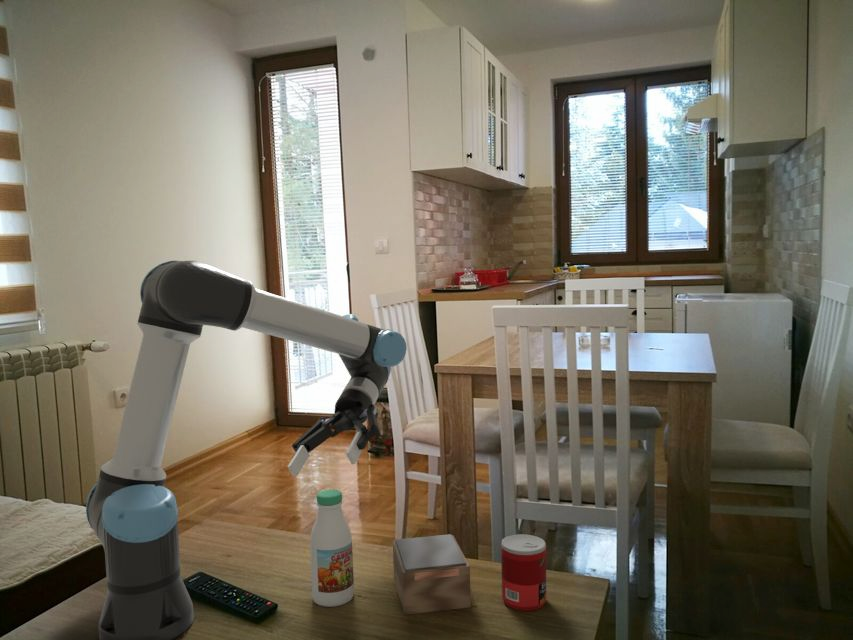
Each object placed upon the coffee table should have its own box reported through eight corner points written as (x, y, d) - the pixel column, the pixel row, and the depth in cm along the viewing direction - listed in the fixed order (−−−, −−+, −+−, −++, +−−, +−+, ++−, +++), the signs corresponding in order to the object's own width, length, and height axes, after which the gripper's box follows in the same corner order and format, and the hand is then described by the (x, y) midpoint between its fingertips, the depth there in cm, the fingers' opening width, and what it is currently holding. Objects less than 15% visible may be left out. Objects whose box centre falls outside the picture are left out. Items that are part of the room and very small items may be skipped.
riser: (404, 615, 117) (403, 571, 117) (393, 578, 131) (392, 538, 131) (470, 607, 120) (470, 564, 119) (453, 571, 134) (452, 532, 133)
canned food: (549, 611, 118) (549, 551, 117) (504, 612, 118) (503, 551, 117) (543, 590, 125) (542, 533, 124) (500, 590, 125) (499, 534, 124)
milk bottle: (304, 604, 122) (299, 497, 120) (325, 584, 129) (320, 484, 128) (342, 611, 120) (338, 502, 118) (361, 590, 127) (357, 487, 125)
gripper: (413, 403, 143) (384, 468, 125) (317, 427, 153) (278, 490, 135) (398, 374, 140) (367, 437, 122) (302, 400, 150) (259, 462, 132)
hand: (320, 465), depth 128 cm, fingers open, 13 cm apart
